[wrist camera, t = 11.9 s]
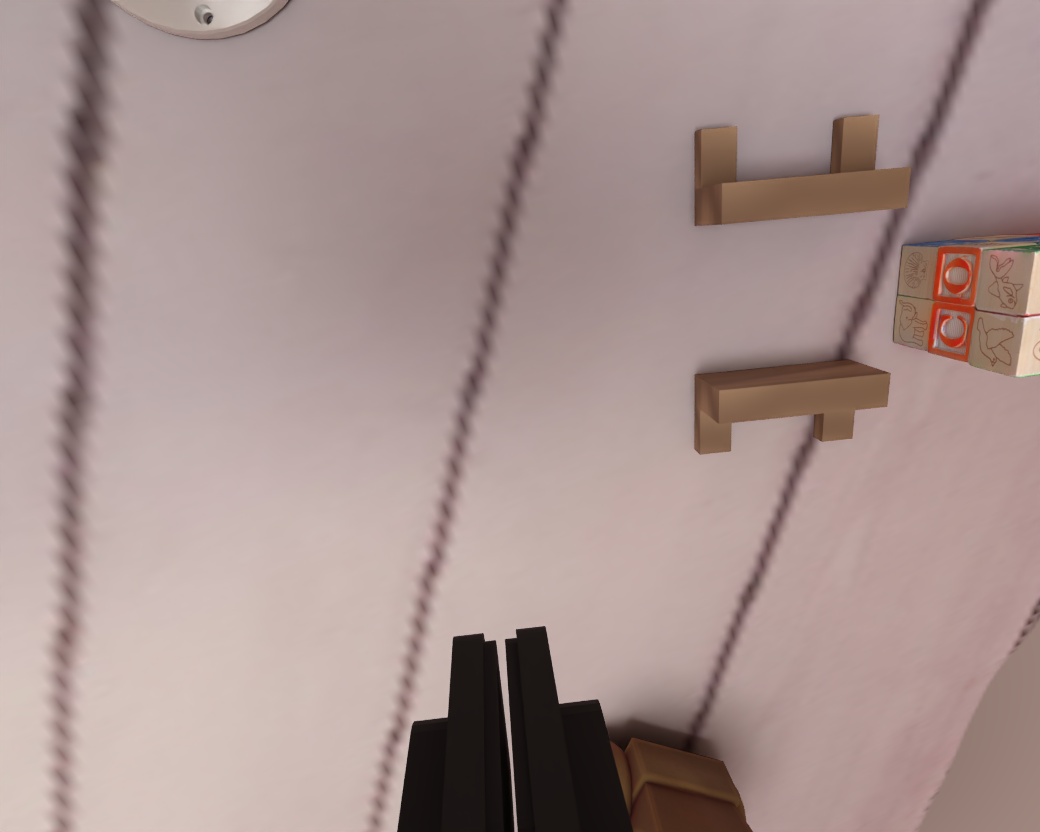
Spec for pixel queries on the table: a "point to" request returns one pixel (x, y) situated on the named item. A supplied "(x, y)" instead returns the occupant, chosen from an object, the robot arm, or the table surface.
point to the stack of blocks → (973, 301)
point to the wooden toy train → (677, 790)
